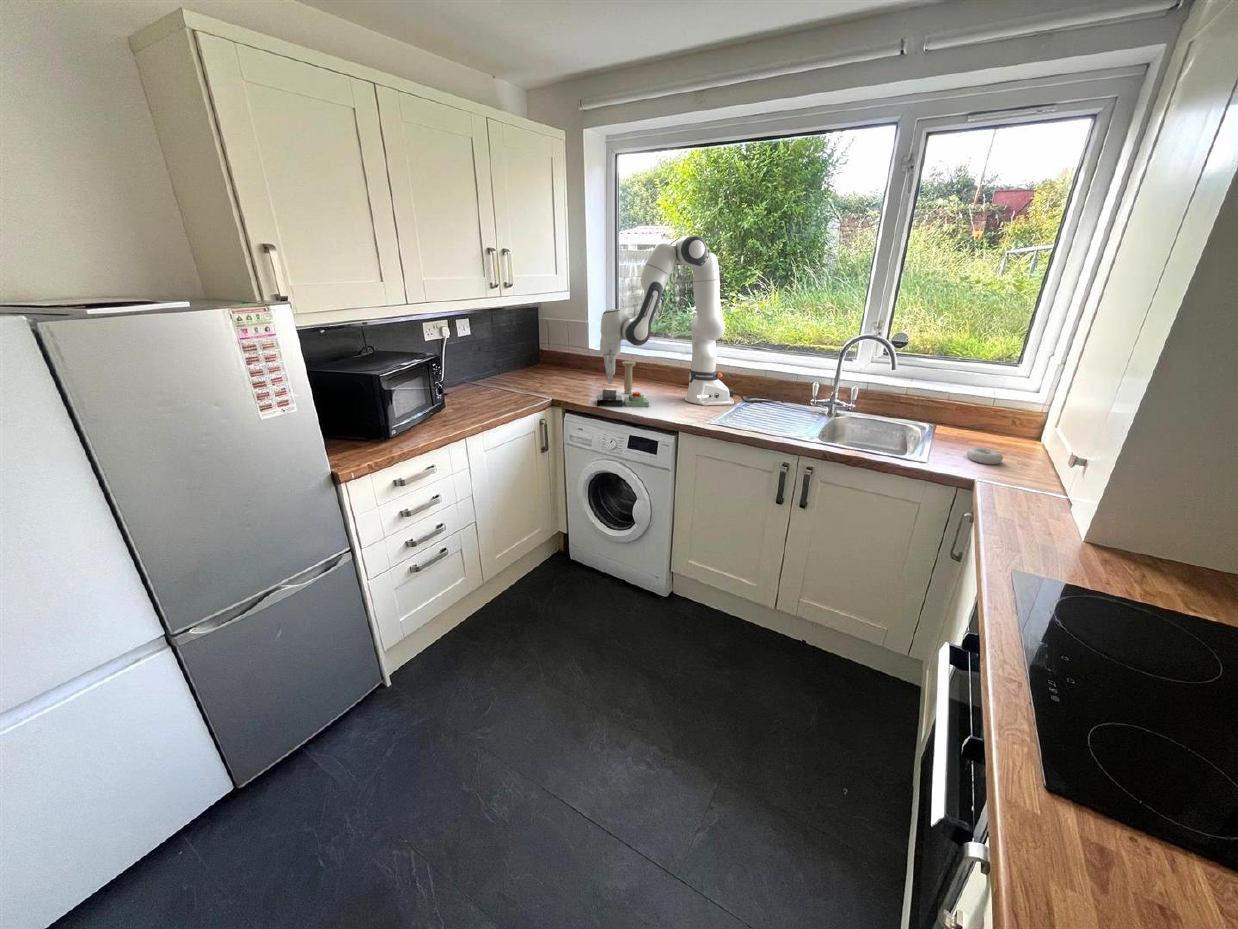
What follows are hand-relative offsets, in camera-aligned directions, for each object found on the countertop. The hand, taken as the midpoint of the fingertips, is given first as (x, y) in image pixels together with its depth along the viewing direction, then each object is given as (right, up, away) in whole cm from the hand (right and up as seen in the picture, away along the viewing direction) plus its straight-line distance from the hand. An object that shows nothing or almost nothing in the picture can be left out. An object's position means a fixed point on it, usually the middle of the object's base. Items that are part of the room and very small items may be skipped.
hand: (609, 381), depth 217 cm
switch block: (+12, -10, +5) cm, 16 cm away
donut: (+127, -35, -50) cm, 141 cm away
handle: (+9, -2, +24) cm, 26 cm away
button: (+12, -6, +3) cm, 14 cm away
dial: (0, -7, +3) cm, 7 cm away
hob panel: (0, -10, +4) cm, 10 cm away
